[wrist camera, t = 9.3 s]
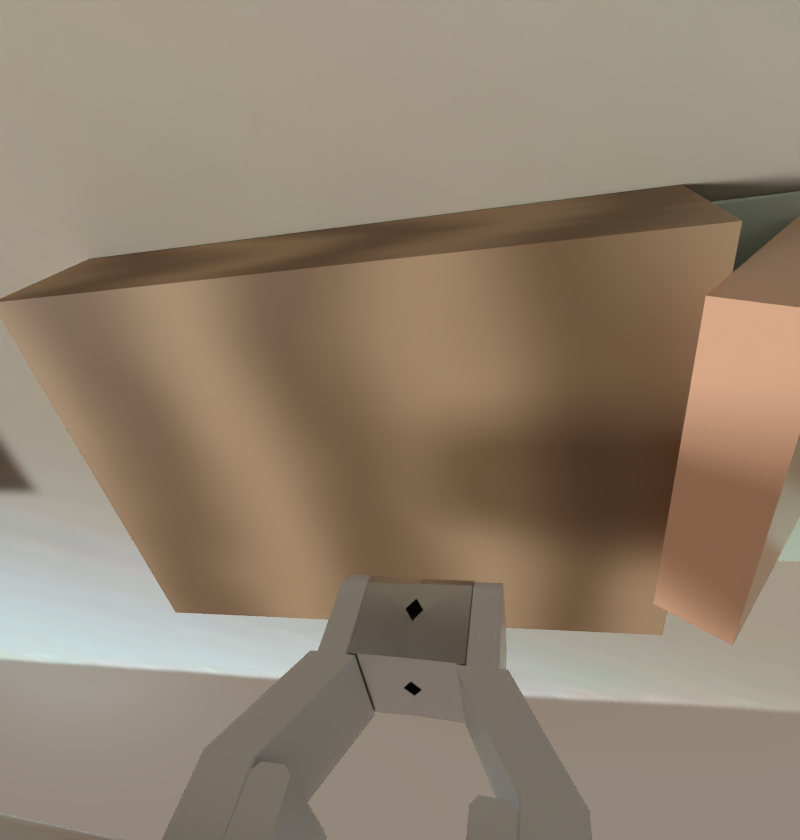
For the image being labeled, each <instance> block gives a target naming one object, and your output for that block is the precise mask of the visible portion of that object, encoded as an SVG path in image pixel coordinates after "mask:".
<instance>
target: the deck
mask: <svg viewBox="0 0 800 840" xmlns="http://www.w3.org/2000/svg"><path fill="white" fill-rule="evenodd" d="M741 226H742V220H740V219H738V218H737V217H735V216H733V215H732V214H730V213H729V212H727V211H725V210H724V209H722V208H720V207H719V206H717V205H715V204H714V203H712V202H710V201H709V200H707V199H705V198H704V197H702V196H700V195H699V194H697V193H695V192H694V191H692V190H690V189H689V188H687V187H685V186H684V185H676V186H668V187H660V188H652V189H644V190H636V191H628V192H620V193H612V194H604V195H596V196H588V197H580V198H572V199H564V200H556V201H548V202H540V203H532V204H524V205H516V206H508V207H500V208H492V209H484V210H477V211H469V212H461V213H453V214H445V215H437V216H429V217H421V218H413V219H405V220H397V221H389V222H381V223H373V224H365V225H357V226H349V227H341V228H333V229H325V230H317V231H309V232H301V233H293V234H285V235H277V236H269V237H261V238H253V239H245V240H238V241H230V242H222V243H214V244H206V245H198V246H190V247H182V248H174V249H166V250H158V251H150V252H142V253H134V254H126V255H118V256H110V257H102V258H94V259H88V260H86V261H84V262H81V263H79V264H77V265H75V266H73V267H70V268H68V269H66V270H64V271H61V272H59V273H57V274H55V275H52V276H50V277H48V278H46V279H44V280H41V281H39V282H37V283H35V284H32V285H30V286H28V287H26V288H23V289H21V290H19V291H17V292H15V293H12V294H10V295H8V296H6V297H3V298H1V299H0V318H1V320H2V322H3V323H4V325H5V327H6V328H7V330H8V332H9V333H10V335H11V337H12V338H13V340H14V342H15V343H16V345H17V347H18V348H19V350H20V352H21V353H22V355H23V357H24V358H25V360H26V362H27V363H28V365H29V367H30V369H31V370H32V372H33V374H34V375H35V377H36V379H37V380H38V382H39V384H40V385H41V387H42V389H43V390H44V392H45V394H46V395H47V397H48V399H49V400H50V402H51V404H52V405H53V407H54V409H55V410H56V412H57V414H58V416H59V417H60V419H61V421H62V422H63V424H64V426H65V427H66V429H67V431H68V432H69V434H70V436H71V437H72V439H73V441H74V442H75V444H76V446H77V447H78V449H79V451H80V452H81V454H82V456H83V457H84V459H85V461H86V463H87V464H88V466H89V468H90V469H91V471H92V473H93V474H94V476H95V478H96V479H97V481H98V483H99V484H100V486H101V488H102V489H103V491H104V493H105V494H106V496H107V498H108V499H109V501H110V503H111V504H112V506H113V508H114V510H115V511H116V513H117V515H118V516H119V518H120V520H121V521H122V523H123V525H124V526H125V528H126V530H127V531H128V533H129V535H130V536H131V538H132V540H133V541H134V543H135V545H136V546H137V548H138V550H139V551H140V553H141V555H142V556H143V558H144V560H145V562H146V563H147V565H148V567H149V568H150V570H151V572H152V573H153V575H154V577H155V578H156V580H157V582H158V583H159V585H160V587H161V588H162V590H163V592H164V593H165V595H166V597H167V598H168V600H169V602H170V603H171V605H172V607H173V609H174V610H175V612H181V613H202V614H224V615H245V616H267V617H288V618H310V619H329V618H330V615H331V612H332V609H333V606H334V603H335V601H336V598H337V595H338V592H339V589H340V586H341V583H342V581H343V580H344V578H345V577H346V576H347V574H355V575H371V576H382V577H394V578H406V579H418V580H422V579H440V580H463V581H475V582H490V583H503V587H504V602H505V619H506V628H524V629H546V630H567V631H589V632H610V633H632V634H653V635H663V630H664V624H665V619H666V614H667V611H666V610H664V609H662V608H660V607H659V606H657V605H655V604H653V603H654V597H655V591H656V585H657V579H658V573H659V567H660V561H661V556H662V550H663V544H664V538H665V532H666V526H667V520H668V514H669V509H670V503H671V497H672V491H673V485H674V479H675V473H676V467H677V462H678V456H679V450H680V444H681V438H682V432H683V426H684V420H685V415H686V409H687V403H688V397H689V391H690V385H691V379H692V373H693V368H694V362H695V356H696V350H697V344H698V338H699V332H700V326H701V321H702V315H703V309H704V303H705V297H706V295H707V294H708V293H710V292H711V291H712V290H713V289H714V288H715V287H717V286H718V285H719V284H720V283H721V282H722V281H724V280H725V279H726V278H727V277H728V276H729V275H731V274H732V272H733V267H734V262H735V257H736V251H737V246H738V241H739V236H740V231H741Z"/></svg>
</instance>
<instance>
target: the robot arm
mask: <svg viewBox="0 0 800 840" xmlns="http://www.w3.org/2000/svg"><path fill="white" fill-rule="evenodd" d="M374 712H382V713H392V714H404V715H415V716H422V717H429V718H436V719H442V720H449V721H455V722H462V723H466V727H467V729H468V732H469V734H470V736H471V739H472V741H473V743H474V746H475V748H476V750H477V753H478V755H479V757H480V760H481V762H482V765H483V767H484V769H485V772H486V774H487V776H488V779H489V781H490V783H491V786H492V788H493V791H494V793H495V795H496V798H493V797H485V796H477V797H476V798H475V800H473V801H472V802H471V803H470V804H469V814H468V825H467V837H466V840H592V834H591V822H590V811H589V809H588V807H587V805H586V804H585V802H584V800H583V798H582V797H581V795H580V793H579V792H578V790H577V788H576V786H575V785H574V783H573V781H572V780H571V778H570V776H569V774H568V773H567V771H566V769H565V767H564V766H563V764H562V762H561V761H560V759H559V757H558V755H557V754H556V752H555V750H554V749H553V747H552V745H551V743H550V742H549V740H548V738H547V736H546V735H545V733H544V731H543V730H542V728H541V726H540V724H539V723H538V721H537V719H536V717H535V716H534V714H533V712H532V710H531V709H530V707H529V705H528V704H527V702H526V700H525V698H524V697H523V695H522V693H521V691H520V690H519V688H518V686H517V685H516V683H515V681H514V679H513V678H512V676H511V674H510V672H509V671H508V670H506V619H505V602H504V587H503V583H490V582H475V581H463V580H440V579H422V580H418V579H406V578H394V577H382V576H371V575H355V574H347V576H346V577H345V578H344V580H343V581H342V583H341V586H340V589H339V592H338V595H337V598H336V601H335V603H334V606H333V609H332V612H331V615H330V618H329V621H328V623H327V626H326V629H325V632H324V635H323V638H322V641H321V644H320V646H319V649H318V651H310V652H308V653H307V654H306V655H305V656H304V657H303V658H302V659H301V660H300V661H299V662H298V663H297V664H295V665H294V666H293V667H292V668H291V669H290V670H289V671H288V672H287V673H286V674H285V675H284V676H282V677H281V678H280V679H279V680H278V681H277V682H276V683H275V684H274V685H273V686H272V687H271V688H270V689H268V690H267V691H266V692H265V693H264V694H263V695H262V696H261V697H260V698H259V699H258V700H256V701H255V702H254V703H253V704H252V705H251V706H250V707H249V708H248V709H247V710H246V711H245V712H243V713H242V714H241V715H240V716H239V717H238V718H237V719H236V720H235V721H234V722H233V723H232V724H230V725H229V726H228V727H227V728H226V729H225V730H224V731H223V732H222V733H221V734H220V735H219V736H217V738H216V739H214V740H213V741H212V742H211V743H210V744H209V745H208V746H207V747H205V748H204V750H203V752H202V754H201V756H200V759H199V761H198V763H197V765H196V767H195V769H194V771H193V773H192V776H191V778H190V780H189V782H188V784H187V786H186V789H185V790H184V793H183V795H182V797H181V799H180V801H179V804H178V806H177V808H176V810H175V812H174V814H173V816H172V818H171V821H170V823H169V825H168V827H167V829H166V831H165V833H164V836H163V838H162V840H326V838H327V837H326V835H325V832H324V830H323V827H322V826H321V824H320V822H319V821H318V819H317V818H316V816H315V814H314V812H313V811H312V809H311V807H310V806H309V804H308V801H309V800H310V798H311V797H312V796H313V794H314V793H315V792H316V790H317V789H318V788H319V786H320V785H321V784H322V783H323V781H324V780H325V779H326V778H327V776H328V775H329V774H330V772H331V771H332V770H333V768H334V767H335V766H336V765H337V763H338V762H339V761H340V759H341V758H342V757H343V755H344V754H345V753H346V752H347V750H348V749H349V748H350V747H351V745H352V744H353V743H354V741H355V740H356V739H357V737H358V736H359V735H360V734H361V732H362V731H363V730H364V728H365V727H366V726H367V724H368V723H369V722H370V720H371V719H372V718H373V717H374V715H375V714H374ZM0 840H124V839H119V838H115V837H110V836H105V835H100V834H96V833H91V832H86V831H82V830H77V829H72V828H68V827H63V826H58V825H53V824H49V823H44V822H39V821H35V820H30V819H25V818H21V817H15V816H11V815H7V814H2V813H0Z"/></svg>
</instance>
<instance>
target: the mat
mask: <svg viewBox="0 0 800 840" xmlns="http://www.w3.org/2000/svg"><path fill="white" fill-rule="evenodd" d="M711 202H712V203H714V204H715V205H717V206H719V207H720V208H722V209H724V210H725V211H727V212H729V213H730V214H732V215H733V216H735V217H737V218H738V219H740V220H742V226H741V231H740V236H739V241H738V246H737V251H736V257H735V262H734V267H733V272H734V271H735V270H736V269H738V268H739V267H740V266H741V265H742V264H743V263H745V262H746V261H747V260H748V259H749V258H750V257H752V256H753V255H754V254H755V253H756V252H757V251H759V250H760V249H761V248H762V247H763V246H764V245H766V244H767V243H768V242H769V241H770V240H771V239H773V238H774V237H775V236H776V235H777V234H778V233H780V232H781V231H782V230H783V229H784V228H785V227H787V226H788V225H789V224H790V223H791V222H792V221H794V220H795V219H796V218H797V217H798V216H799V215H800V191H796V192H788V193H779V194H771V195H762V196H754V197H745V198H737V199H728V200H720V201H711ZM733 272H732V273H733ZM777 561H800V518H799V520H798V521H797V523H796V525H795V527H794V529H793V531H792V533H791V535H790V537H789V539H788V541H787V542H786V544H785V546H784V548H783V550H782V552H781V554H780V556H779V558H778V560H777Z"/></svg>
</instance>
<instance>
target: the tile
mask: <svg viewBox="0 0 800 840" xmlns="http://www.w3.org/2000/svg"><path fill="white" fill-rule="evenodd" d="M799 518H800V215H799V216H798V217H797V218H796V219H795V220H794V221H792V222H791V223H790V224H789V225H788V226H787V227H785V228H784V229H783V230H782V231H781V232H780V233H778V234H777V235H776V236H775V237H774V238H773V239H771V240H770V241H769V242H768V243H767V244H766V245H764V246H763V247H762V248H761V249H760V250H759V251H757V252H756V253H755V254H754V255H753V256H752V257H750V258H749V259H748V260H747V261H746V262H745V263H743V264H742V265H741V266H740V267H739V268H738V269H736V270H735V271H734V272H733V273H732V274H731V275H729V276H728V277H727V278H726V279H725V280H724V281H722V282H721V283H720V284H719V285H718V286H717V287H715V288H714V289H713V290H712V291H711V292H710V293H708V294H707V295H706V297H705V303H704V309H703V315H702V321H701V326H700V332H699V338H698V344H697V350H696V356H695V362H694V368H693V373H692V379H691V385H690V391H689V397H688V403H687V409H686V415H685V420H684V426H683V432H682V438H681V444H680V450H679V456H678V462H677V467H676V473H675V479H674V485H673V491H672V497H671V503H670V509H669V514H668V520H667V526H666V532H665V538H664V544H663V550H662V556H661V561H660V567H659V573H658V579H657V585H656V591H655V597H654V603H653V604H655V605H657V606H659V607H660V608H662V609H664V610H666V611H668V612H670V613H672V614H674V615H676V616H678V617H680V618H682V619H683V620H685V621H687V622H689V623H691V624H693V625H695V626H697V627H699V628H701V629H703V630H704V631H706V632H708V633H710V634H712V635H714V636H716V637H718V638H720V639H722V640H724V641H726V642H727V643H729V644H731V645H733V644H734V642H735V640H736V638H737V636H738V634H739V632H740V630H741V628H742V626H743V625H744V623H745V621H746V619H747V617H748V615H749V613H750V611H751V609H752V607H753V605H754V604H755V602H756V600H757V598H758V596H759V594H760V592H761V590H762V588H763V586H764V584H765V583H766V581H767V579H768V577H769V575H770V573H771V571H772V569H773V567H774V565H775V563H776V562H777V560H778V558H779V556H780V554H781V552H782V550H783V548H784V546H785V544H786V542H787V541H788V539H789V537H790V535H791V533H792V531H793V529H794V527H795V525H796V523H797V521H798V520H799Z"/></svg>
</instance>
